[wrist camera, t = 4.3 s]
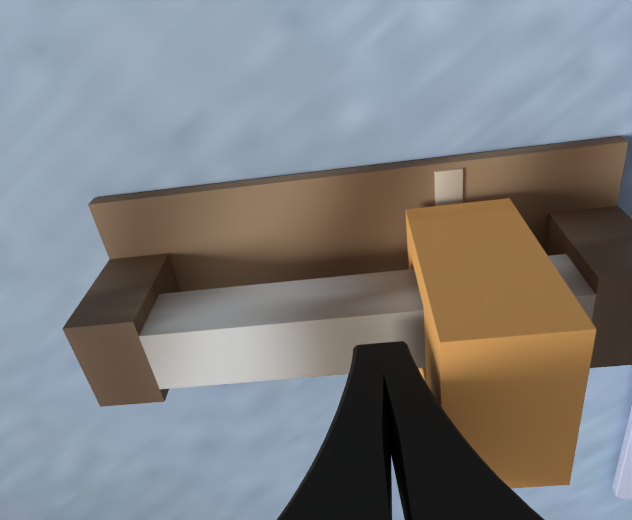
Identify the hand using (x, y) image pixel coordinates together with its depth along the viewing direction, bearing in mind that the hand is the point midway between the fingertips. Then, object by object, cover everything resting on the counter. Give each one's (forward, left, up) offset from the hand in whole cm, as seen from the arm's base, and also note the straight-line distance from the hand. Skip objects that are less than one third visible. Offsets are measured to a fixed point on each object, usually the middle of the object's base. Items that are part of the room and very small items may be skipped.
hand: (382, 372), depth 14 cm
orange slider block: (-3, 0, -5) cm, 6 cm away
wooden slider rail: (0, 0, -5) cm, 5 cm away
